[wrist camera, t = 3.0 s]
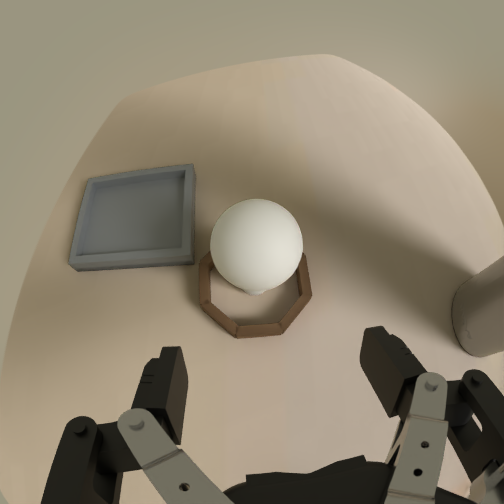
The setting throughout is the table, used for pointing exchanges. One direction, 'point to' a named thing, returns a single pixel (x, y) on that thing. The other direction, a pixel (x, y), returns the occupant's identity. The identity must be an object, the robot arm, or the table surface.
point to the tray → (136, 220)
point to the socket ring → (253, 330)
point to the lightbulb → (256, 245)
